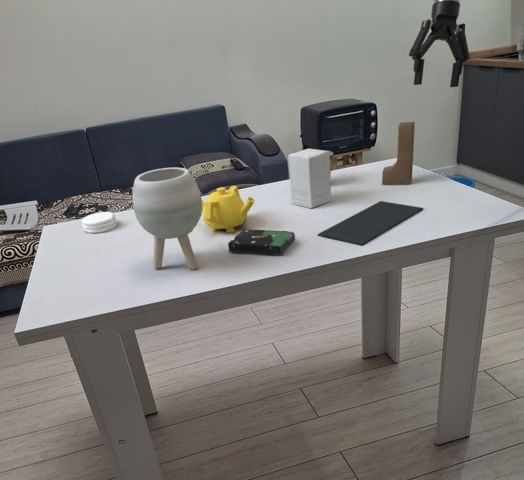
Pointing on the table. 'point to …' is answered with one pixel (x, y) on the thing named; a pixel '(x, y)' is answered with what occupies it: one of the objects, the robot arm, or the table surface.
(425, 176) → the table surface
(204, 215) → the teapot
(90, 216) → the coaster
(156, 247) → the planter
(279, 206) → the table surface
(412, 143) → the wooden block
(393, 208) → the mat
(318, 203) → the white product box
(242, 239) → the disk drive
